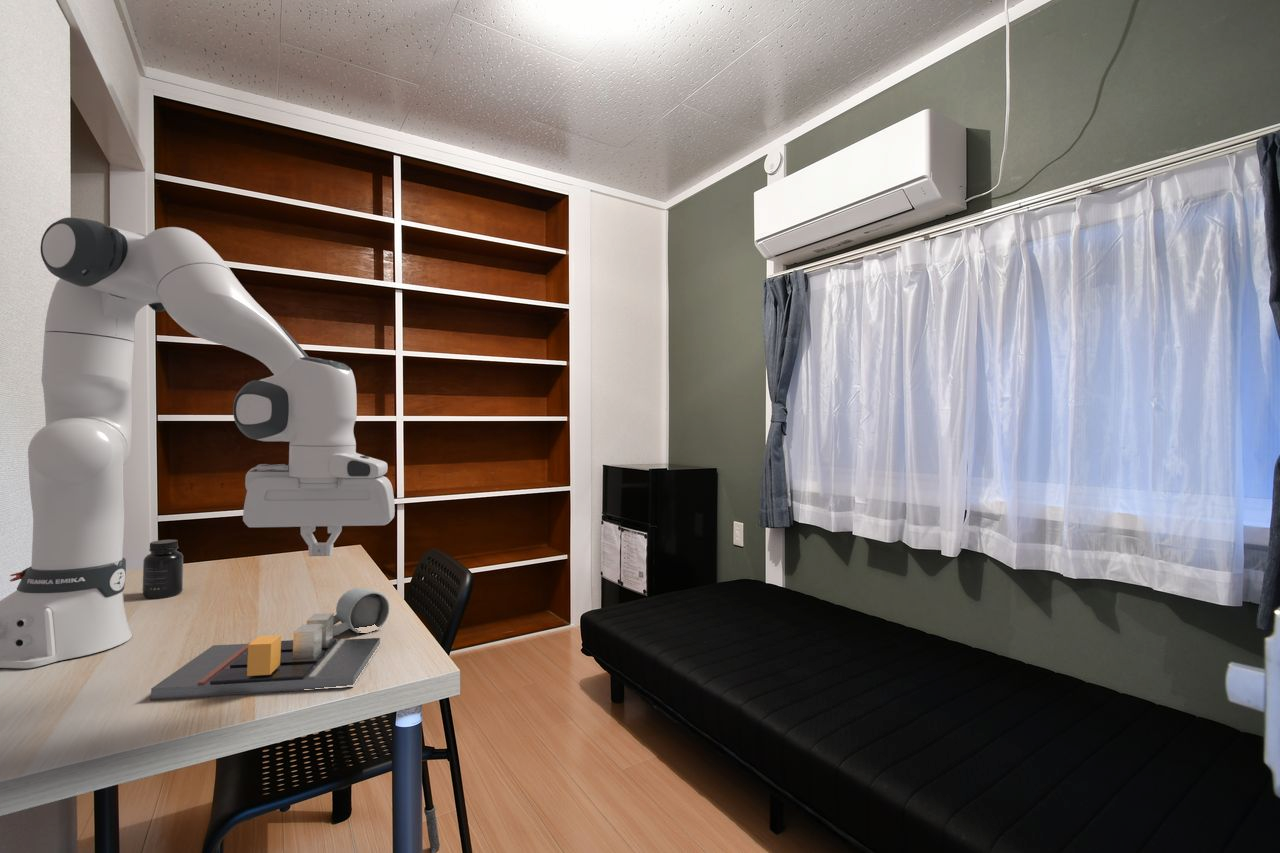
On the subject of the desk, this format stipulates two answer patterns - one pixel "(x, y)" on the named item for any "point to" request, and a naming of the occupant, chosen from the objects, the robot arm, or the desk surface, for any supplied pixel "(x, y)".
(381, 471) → the robot arm
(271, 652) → the toggle
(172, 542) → the supplement bottle
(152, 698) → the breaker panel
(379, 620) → the ceramic mug
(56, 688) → the desk surface
